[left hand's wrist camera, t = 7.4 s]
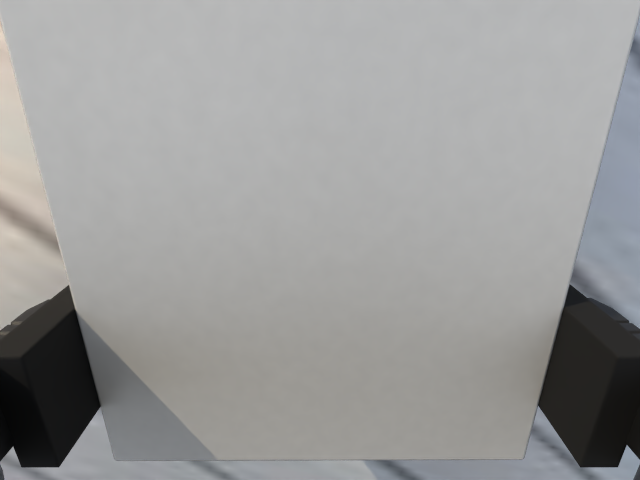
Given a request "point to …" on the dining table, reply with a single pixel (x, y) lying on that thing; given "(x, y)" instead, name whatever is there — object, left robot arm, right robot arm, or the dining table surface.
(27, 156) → the dining table surface
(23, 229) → the dining table surface
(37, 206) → the dining table surface
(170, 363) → the grey rectangular block
